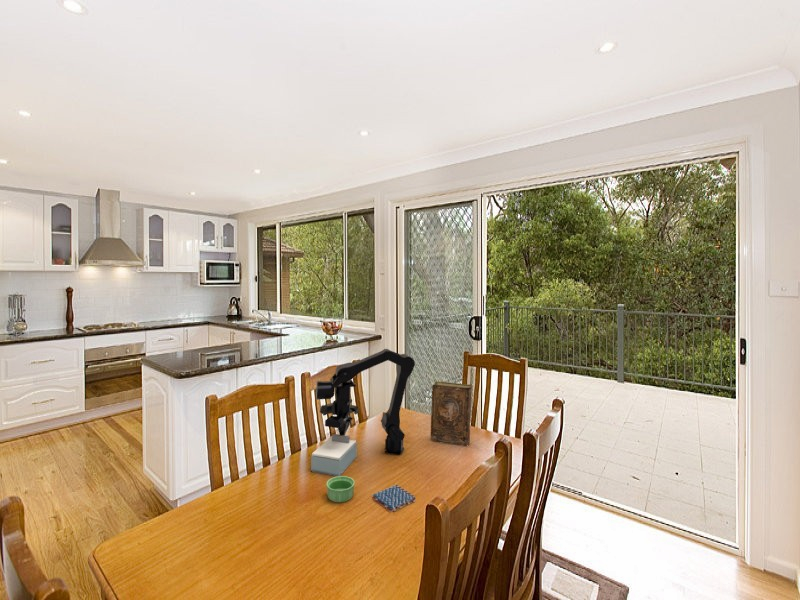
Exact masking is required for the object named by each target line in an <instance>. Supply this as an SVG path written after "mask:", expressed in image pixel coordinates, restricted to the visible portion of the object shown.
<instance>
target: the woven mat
mask: <svg viewBox="0 0 800 600" xmlns="http://www.w3.org/2000/svg"><path fill="white" fill-rule="evenodd" d="M371 499H372V500H373V501H374V502H376V503H377V504H379V505H380V506H382V507H383V509H386V510H387V511H388V512H389V513H391V514H393V513H394V512H396V511H400V509H402V508H404V507H407V506H408V505H409V506H410V504H411V505H413V503H415V502H416V497H415V496H414V494H413V495H412V494H411V492H408V491H407V490H405V489H404V488H402V486H399V485H398V484H395V485H392V486H391V487H388V488H385V489H383V490H380V491H377V492H376V493H374V494H373V495H372V496H371Z"/></svg>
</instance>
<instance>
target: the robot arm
mask: <svg viewBox="0 0 800 600" xmlns="http://www.w3.org/2000/svg"><path fill="white" fill-rule="evenodd" d="M387 361H389V362H391V363H393V364H395V367H396V378H395V382H394V386H393V390H392V394H391V399H390V403H389V405H388V409H387V411H386V412H384V411H383V412H382V418H381V420H380V423H381V426H382V428H383V430H384V431H385V434H387V435H386V437H385V440H384V449H385V451H384V453H385V454H390V455H397V456H401V455H402V453H403V451H404V450H405V447H404V439H405V436H406V434H405V433H404V432H403V430H402V429H401V427H400V425H401V418H400V412H401V407H402V402H403V399H404V395H405V391H406V386H407V382H408V379H409V378H410V376H411V375H412V373H413V370H414V368H415V365H416V362H415V360H414V358H413V357H411V356H410V355H408V354H407V353H398V352H395V351H393V350H390V349H389V348H384V349H382V350H380V351H378V352H376V353H373V354H371V355H369V356H366V357H364V358H362V359H360V360H357V361H352V362H351V361H350V362H346V363H342V364H339V365H337V366H336V368H335V371H334V374H333V375H332V377H330V380H329V381H328V380H327V381H326V380H324V381H322V380H317V381H316V388H315V400H331V399H332V398H334V397H335V400H333V401H332V402H331V403H325V404H322V405H320V410H319V413H320V414H321V415H322V416H326V415H329V414H331V416H330V415H329V417H327V418H326V419H325V421H324V427H327V428H335V429H337V430H338V433H339V435H345V436H346V433H347V431H348V428H349V427H350V425H351V422H352V421H353V419H354V418H353V417H352V416H350V415H351V414H352V413H354V415H358V414H359V412H360V410H359V409H360V408H359V407H358V405H354V404H352V403H353V399H351V391H352V390H351V388H353V387H356V386H357V385H356V383H355V382H354V381H353V380H352V379H354V378H355V377H357V376H358V375H359V374H360V373H362V372H364V371H366V370H369V369H371V368H373V367H376V366H378V365H380V364H382V363H384V362H387Z"/></svg>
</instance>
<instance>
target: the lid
mask: <svg viewBox="0 0 800 600" xmlns="http://www.w3.org/2000/svg"><path fill="white" fill-rule="evenodd" d="M355 443H357V440H354V439H351V437H350V435H346V434H345V435H340V434H338V433H332V434H331V437H330V438H329V439H327V440H326V441H325V442H324V443H322V444H321V445H320V446H319V447H318V448H317V449H315V450H314V451H313V452H312V453H311V456H312V455H313V456H319V457H325V458H331V459H337V460H340V458H341V457H342V456H343V455H344V454H345V453H346V452H347V451H348V450H349V449H350V448H351V447H352V446H353V445H354V444H355Z"/></svg>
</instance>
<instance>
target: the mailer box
mask: <svg viewBox="0 0 800 600" xmlns="http://www.w3.org/2000/svg"><path fill="white" fill-rule="evenodd" d="M357 446H358V443H357V442H356V443H355V444H354V445H353V446H352V447H351V448H350V449H349V450H348V451H347V452H346V453H345V454H344V455H343V456H342V457H341V458H340V460H337V459H331V458H325V457H319V456H313V455H312V454H311V458H310V472H311V471H312V472H311V473H318V474H324V475H330V476H333V477H337V476H342V474H343V473H344V472H345V471H346V469H348V467H349V466H350V465H351V464H352V463H353V462H354V460H355V459H357V456H358V455H357V454H358V451H357V449H358V448H357Z"/></svg>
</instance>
